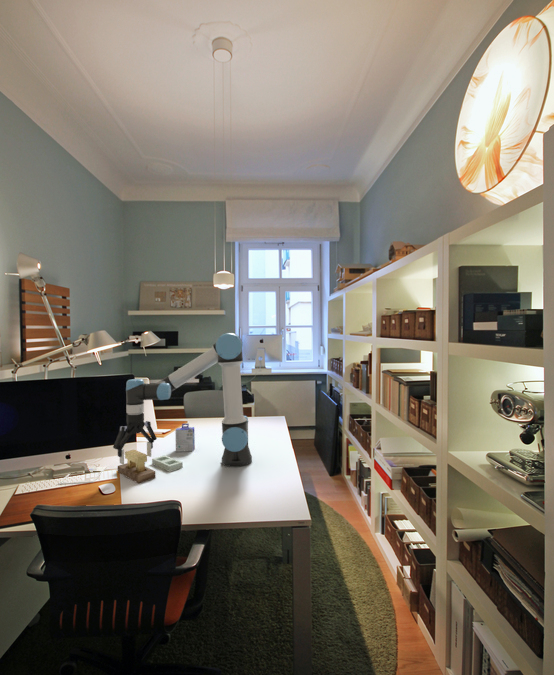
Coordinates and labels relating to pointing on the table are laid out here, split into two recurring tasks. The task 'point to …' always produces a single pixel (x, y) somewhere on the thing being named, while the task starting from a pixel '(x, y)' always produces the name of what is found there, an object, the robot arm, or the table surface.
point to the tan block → (136, 460)
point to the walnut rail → (134, 476)
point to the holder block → (167, 463)
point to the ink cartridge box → (185, 438)
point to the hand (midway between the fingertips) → (135, 459)
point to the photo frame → (85, 481)
